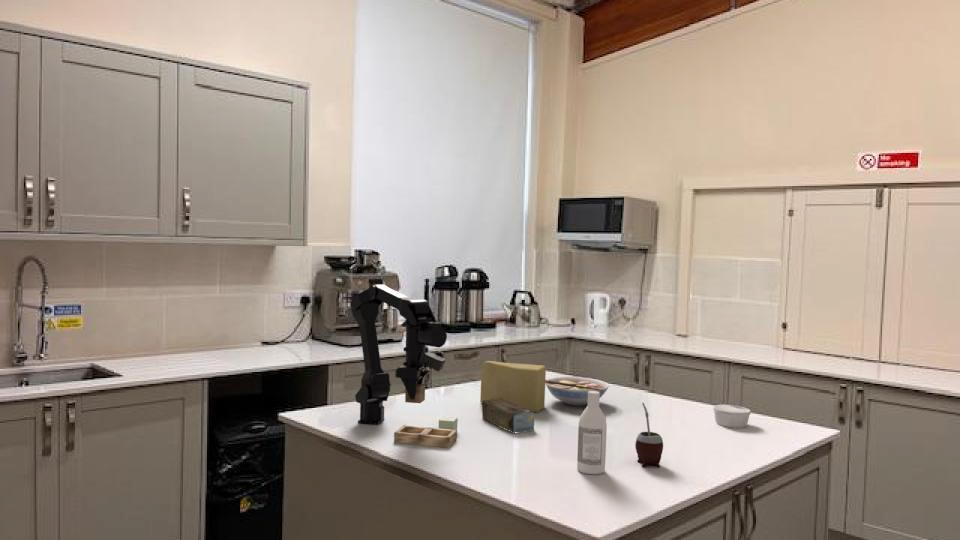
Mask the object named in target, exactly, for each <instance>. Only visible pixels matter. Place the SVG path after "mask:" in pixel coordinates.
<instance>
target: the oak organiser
mask: <svg viewBox="0 0 960 540" xmlns="http://www.w3.org/2000/svg"><path fill="white" fill-rule="evenodd" d="M393 433H394V434H393V435H394V436H393V442H394V443H398V442H400V444H408V443H412V444H411V445H418V444H420V445H421V446H430V447H441V448H448V447H449V448H450V447H452V446H453V444H455V442H456V441H457V440H458V438H457V437H458V436H457V435H458V429H457V430H450V429H439V427H438V428H437V427H426V426H417V425H416V426H415V425H406V424H405V425H404V424H403V425H402V426H401V427H400V428H398V429H397V430H395V431H394V432H393ZM456 439H457V440H456Z"/></svg>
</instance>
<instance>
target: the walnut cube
mask: <svg viewBox="0 0 960 540" xmlns="http://www.w3.org/2000/svg"><path fill="white" fill-rule="evenodd" d="M404 389H405V390H404V392H405V396H404V400H405V401H404V403H410V404H422V403H423V402H425V399H426V396H425V395H426V384H425V383H422V384H417V387H416V393H415V399H410V397H409V395H408V392H407V390H406V388H405V387H404Z"/></svg>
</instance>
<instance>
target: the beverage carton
mask: <svg viewBox="0 0 960 540" xmlns="http://www.w3.org/2000/svg"><path fill="white" fill-rule="evenodd" d="M481 404H482V405H481V406H482V407H481V408H482V409H481V412H482V413H481V414H482V417H481V418H482V419H483V418H484V420H485V419H486V420H485V421H487V420H488V421H487V422H489V421H490V423H491V422H493V423H495V424H497V425H499V426H501V427H503V428H505V429H507V430H506V431H508V430H510V431H512V432H514V433H513V434H516V433H515V432H520V433H525V432H524V431H528V432H534V431H535V412H532V411H530V410H527V409H525V408H523V407H521V406H519V405H517V404H514V403H512V402H510V401H508V400H505V399H503V398H499V399H491V400H483V402H482V403H481ZM493 423H492V424H493ZM495 424H494V425H495ZM497 425H496V426H497ZM499 426H498V427H499ZM501 427H500V428H501ZM503 428H502V429H503ZM505 429H504V430H505ZM533 430H534V431H533ZM510 431H509V432H510ZM512 432H511V433H512Z"/></svg>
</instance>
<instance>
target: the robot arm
mask: <svg viewBox="0 0 960 540" xmlns="http://www.w3.org/2000/svg"><path fill="white" fill-rule="evenodd" d="M349 303H350V309H351V313H352V317H353V318H354V320H355V321H356V322H357V324H358V326H359V332H360V334H359V335H360V339H361V340H360V341H361V348H362V356H363V357H362V358H363V364H364V373H363V375H362V377H361V380H360V381H361V383H360V384H361V386H360V388H359V390H358V391H357V393H356V394H355V402H356V403H357V404H360V405H359V406H360V407H359V408H360V410H359V419H358V420H357V423H359V424H369V425H378V424H381V422H383V421H384V420H385V405H384V403H383V402H388V398H389V394H390V392H391V386H392V384H391V380H390V373H389V372H385V370H383V368H382V363H381V362H382V361H381V356H380V347H379V340H378V335H377V334H378V332H377V325H376V321H377V319H378V316H379V314H380V306H382V305H383V304H386V305H388V306H391V307H392V308H393V309H396V310H397V311H398V313H399V315H400V316H401V317H402V318H403V319H405V320H404V321H403V322H402V323H401V325H400V326H401V327H404V328H405V347H403V352H405V357H404V358H405V361H403V362H402V365H401V366H398V367H397V369H395V373H394V375H395V378H398V379H400V380H401V382H402V384H403V386H404V389H405V388H406V390H407V392H408V395H409V397H410V399H415V393H416V387H417V384H424V380H425V377H426V376H427V375H428V374H429V373H430V372H431V370H432V369H433V370H434V371H436V372H440V371H441V370H443V368H444V366H445V363H446V359H447V358H446V357H445V354H444V353H445V352H443V351H440V350H439V351H437V352H436V353H435V352H430V351H429V347H433V348H437V349H438V348H441V347H444V345H446V342H447V339H448V338H447V337H448V334H447V333H446V332H447V331H446V329H445V328H443V327H442V322H437V320H436V317H435V315H434V313H433V310H432V309H431V307H430V304H429V302H428V300H426V299H423V298H418V297H409V296H407V295H405V294H403V293H400V292H399V291H396V290H394V289H392V288H390V287H389V286H387V285H385V284H373V285H370V286H369V288H367V289H364V290H363V291H361V292H359V293H357V294H356V295H354V296H353V298H352V299H351V301H350V302H349ZM426 368H428V369H429V370H427V369H426Z"/></svg>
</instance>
